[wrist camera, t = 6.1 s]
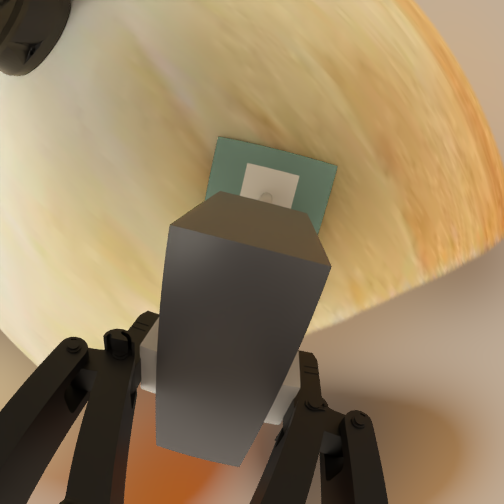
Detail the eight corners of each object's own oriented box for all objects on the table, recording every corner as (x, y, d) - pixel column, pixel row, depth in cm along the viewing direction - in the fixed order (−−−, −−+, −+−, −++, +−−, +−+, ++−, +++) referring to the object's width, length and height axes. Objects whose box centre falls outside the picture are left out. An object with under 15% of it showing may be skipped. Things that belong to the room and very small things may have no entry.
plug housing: (219, 190, 15) (169, 224, 8) (307, 213, 15) (331, 266, 8) (187, 365, 19) (156, 445, 12) (251, 382, 19) (239, 466, 12)
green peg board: (219, 136, 27) (205, 133, 21) (336, 165, 27) (350, 169, 21) (191, 292, 33) (175, 318, 28) (288, 316, 33) (289, 346, 28)
